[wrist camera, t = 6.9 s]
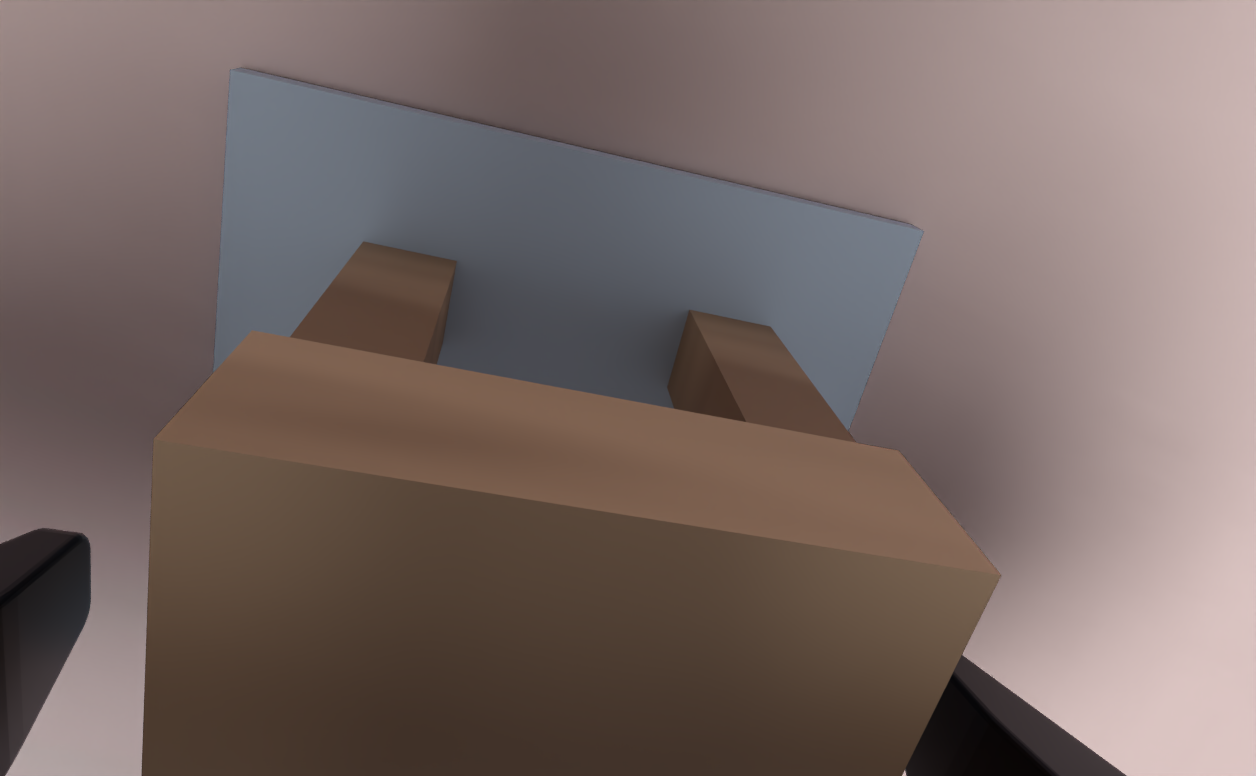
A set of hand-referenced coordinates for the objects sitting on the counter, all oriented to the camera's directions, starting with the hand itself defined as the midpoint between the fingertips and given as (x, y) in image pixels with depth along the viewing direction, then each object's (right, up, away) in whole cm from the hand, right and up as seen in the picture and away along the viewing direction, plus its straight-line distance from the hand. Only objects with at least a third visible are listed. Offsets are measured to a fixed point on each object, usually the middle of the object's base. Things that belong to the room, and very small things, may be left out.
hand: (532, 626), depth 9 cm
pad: (0, +2, +4) cm, 4 cm away
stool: (0, +1, +3) cm, 4 cm away
